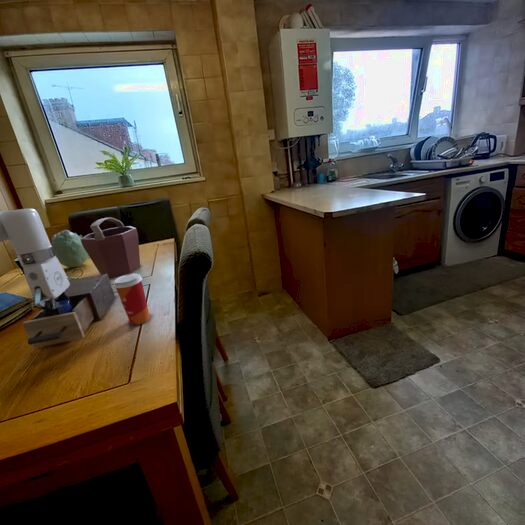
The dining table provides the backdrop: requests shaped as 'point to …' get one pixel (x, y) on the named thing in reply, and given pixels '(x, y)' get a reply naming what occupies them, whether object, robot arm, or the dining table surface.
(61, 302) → the blue cylinder can
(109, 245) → the bucket
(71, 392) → the dining table surface
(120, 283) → the paper cup
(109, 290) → the cabinet
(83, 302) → the drawer
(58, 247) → the cabbage
